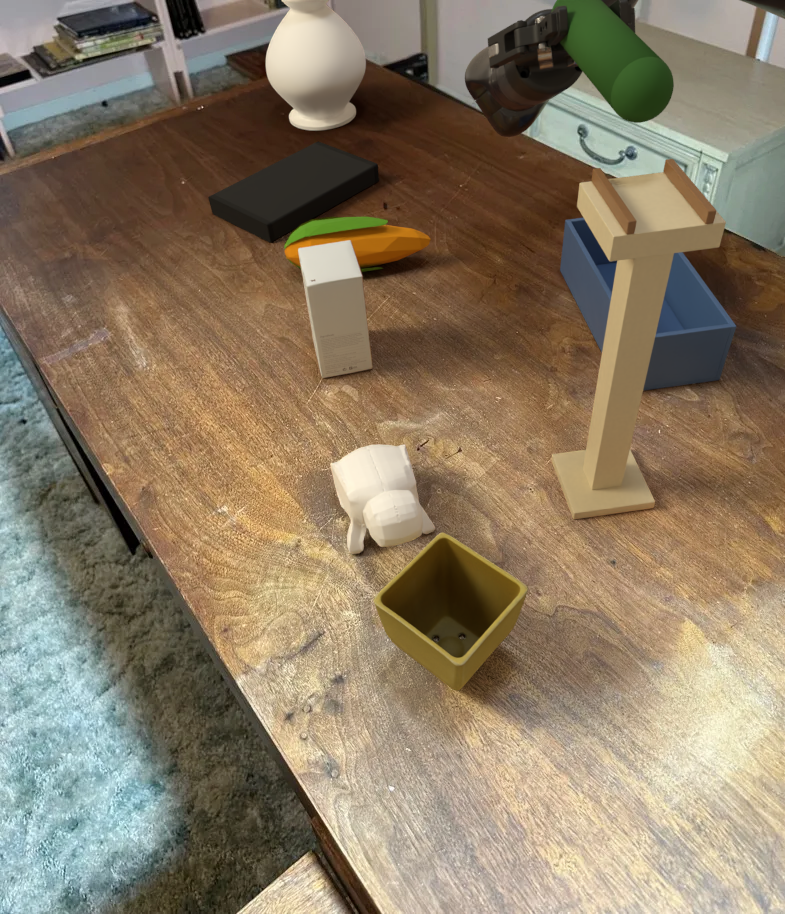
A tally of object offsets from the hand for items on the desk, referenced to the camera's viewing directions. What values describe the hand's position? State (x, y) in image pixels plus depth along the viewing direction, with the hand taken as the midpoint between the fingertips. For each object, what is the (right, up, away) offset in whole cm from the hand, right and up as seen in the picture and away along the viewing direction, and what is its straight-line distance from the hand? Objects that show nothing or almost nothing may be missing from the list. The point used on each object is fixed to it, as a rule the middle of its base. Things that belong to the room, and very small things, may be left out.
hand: (593, 16), depth 62 cm
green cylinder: (+1, -5, 0) cm, 5 cm away
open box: (+13, -19, +32) cm, 40 cm away
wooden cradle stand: (+4, -38, +15) cm, 41 cm away
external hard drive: (-31, +5, +60) cm, 68 cm away
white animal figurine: (-17, -42, +13) cm, 48 cm away
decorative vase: (-29, +28, +81) cm, 90 cm away
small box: (-22, -23, +32) cm, 45 cm away
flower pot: (-11, -52, +3) cm, 54 cm away
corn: (-21, -9, +45) cm, 50 cm away
